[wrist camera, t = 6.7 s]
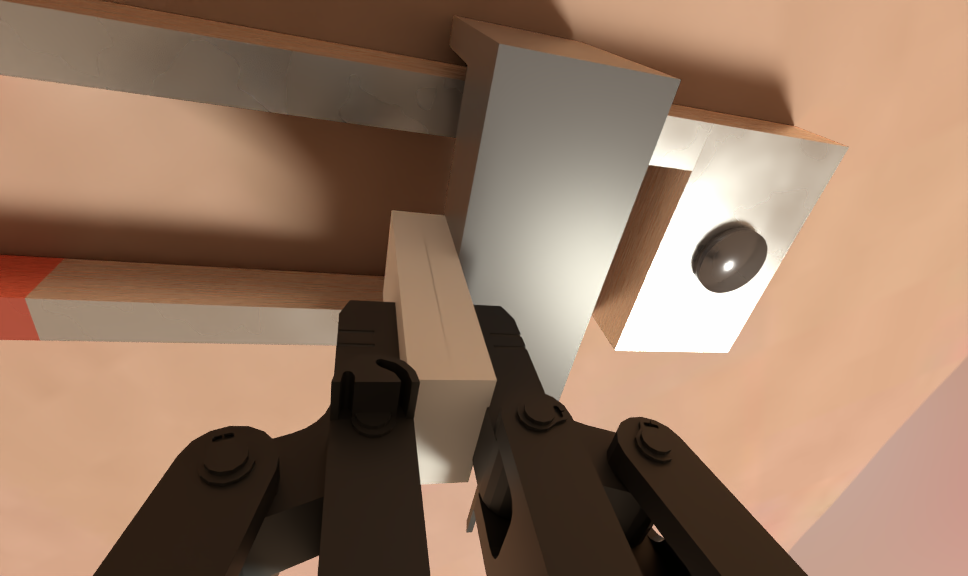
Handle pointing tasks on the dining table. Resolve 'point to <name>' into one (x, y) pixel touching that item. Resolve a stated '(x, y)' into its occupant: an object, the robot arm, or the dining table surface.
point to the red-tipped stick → (172, 302)
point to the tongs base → (435, 110)
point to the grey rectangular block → (547, 177)
